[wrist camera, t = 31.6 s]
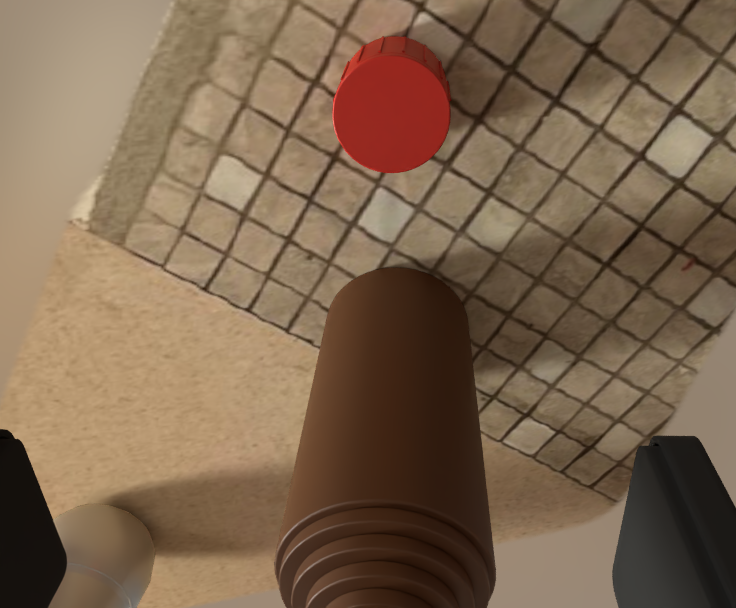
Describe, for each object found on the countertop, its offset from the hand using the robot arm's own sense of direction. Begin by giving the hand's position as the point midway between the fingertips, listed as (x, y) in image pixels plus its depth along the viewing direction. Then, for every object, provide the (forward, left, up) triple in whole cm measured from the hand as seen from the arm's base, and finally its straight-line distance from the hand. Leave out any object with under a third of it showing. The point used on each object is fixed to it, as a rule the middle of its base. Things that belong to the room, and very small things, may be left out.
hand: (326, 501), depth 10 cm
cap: (+1, -1, -18) cm, 18 cm away
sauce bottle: (-8, +4, -18) cm, 20 cm away
